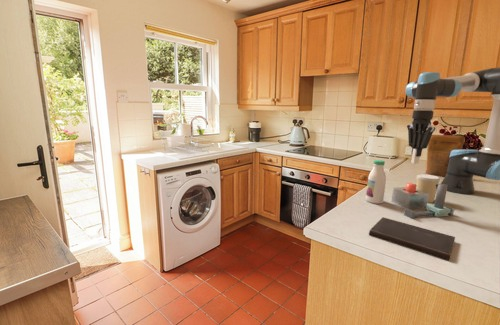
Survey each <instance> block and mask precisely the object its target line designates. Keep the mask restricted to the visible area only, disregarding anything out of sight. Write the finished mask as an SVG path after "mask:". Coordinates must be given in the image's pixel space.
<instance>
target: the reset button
mask: <svg viewBox="0 0 500 325" xmlns="http://www.w3.org/2000/svg"><path fill="white" fill-rule="evenodd" d="M416 186H417V185H416V183H413V182H412V183H411V182H406V185H405V187H406V191H408V192H410V193H412V192H416Z"/></svg>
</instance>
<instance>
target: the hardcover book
mask: <svg viewBox="0 0 500 325" xmlns="http://www.w3.org/2000/svg"><path fill="white" fill-rule="evenodd" d="M368 235H369V236H371V237H374V238H377V239H380V240H382V241H386V242H389V243H392V244H396V245H398V246H401V247H405V248H408V249H411V250H415V251H418V252H420V253H422V254H426V255H430V256H433V257H436V258H438V259H442V260H444V261H447V262H450V258H451V254H452V250H453V247H454V243H455V240H456V237H455V236H453V235H449V234H447V233H446V234H445V233H442V232H438V231H436V230H435V231H434V230H431V229H427V228H423V227H420V226H416V225H412V224H410V223H405V222H401V221H397V220H394V219H390V218H387V217H382V218H380V219H379V220H378V222H376V224H374V226H372V227H371V228H370V229H369V231H368Z"/></svg>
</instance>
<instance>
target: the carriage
mask: <svg viewBox="0 0 500 325" xmlns="http://www.w3.org/2000/svg"><path fill="white" fill-rule="evenodd" d="M447 186H448V185H446V184H441V183H438V187H437V191H436V194H435V198H434V204H427V207H426V208H425V209H427V211H433V212H435V216H434V217H436V218H437V217H447V216H449V215H448V213H450V212H451V209H449V208H446V207H444V206H445V200H446V198H447Z"/></svg>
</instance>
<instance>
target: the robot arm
mask: <svg viewBox="0 0 500 325" xmlns="http://www.w3.org/2000/svg"><path fill="white" fill-rule="evenodd" d="M461 92H464V93H473V92H474V93H476V92H477V93H491V94H490V96H491V97H492V98H493V99H494V100H493V102H492V108H491V113H490V116H489V121H488V124H487V125H488V127H487V130H486V134H485V139H484V144H483V146H482V148H481V149H479V150H478V149H463V148H462V149H458V150H452V151H451V153H450V156H449V163H448V168H447V174H446V176H445V177H443V179H442V181H441V183H440V184H446V185H448V186H447V191H448V192H451V193H457V194H463V195H464V194H465V195H471V194H474V193H475V185H474V180H473V179H474V178H473V177H474V176H476V177H480V178H485V179H488V180H494V181H500V67H492V68H486V69H483V70H478V71H477V70H476V71H474V72H468V73H465V74H464V75H457V76H450V77H444V78H441V74H440V72H436V71H427V72H422V73H420V74H419V76H418V78H417V81H416V80H415V81H412V82H409V83H408V84H407V85H406V86H405V95H406V96H407V97H408V98H414V105H413V109H414V110H413V111H412V117H411V118H412V119H413V120H412V122H411V124H408V125H406V127H407V131H408V134H407V135H408V147H411V148H412V149H411V160H410V163H411V164H413V165H414V164H417V165H418V164H419V163H420V157H422V151H423V149H427V147H428V144H429V141H430V138H431V136H432V135H433V133H434V132H435V130H436V127H435V126H432V122H431V121H432V120H433V117H434V113H435V112H434V110H435V107H436V101H437V100H436V99H437V98H441V97H442V98H454V97H456V96H457V95H459V94H460V93H461ZM447 191H446V192H447Z"/></svg>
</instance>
